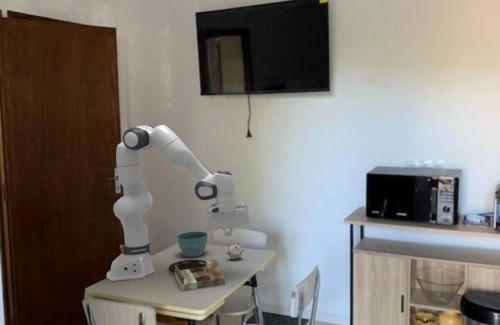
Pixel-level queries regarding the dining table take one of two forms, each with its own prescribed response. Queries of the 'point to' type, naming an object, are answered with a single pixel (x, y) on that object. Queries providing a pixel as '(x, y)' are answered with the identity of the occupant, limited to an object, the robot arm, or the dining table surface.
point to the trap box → (197, 278)
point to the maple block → (212, 266)
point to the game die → (234, 251)
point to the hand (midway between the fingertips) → (228, 236)
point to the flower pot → (192, 243)
